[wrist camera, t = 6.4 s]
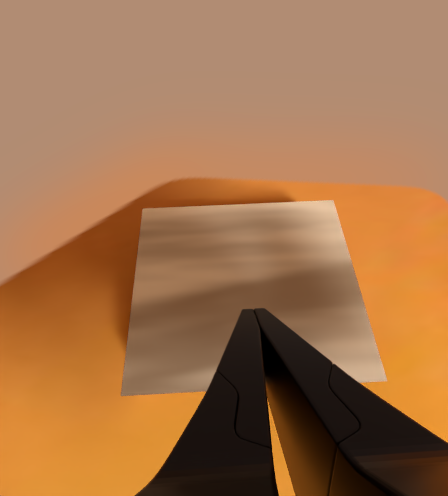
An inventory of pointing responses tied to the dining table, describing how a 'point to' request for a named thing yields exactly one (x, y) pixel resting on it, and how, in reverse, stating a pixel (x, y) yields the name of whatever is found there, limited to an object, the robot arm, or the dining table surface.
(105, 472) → the dining table surface
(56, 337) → the dining table surface
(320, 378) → the robot arm
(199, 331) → the beige streaked flat block
